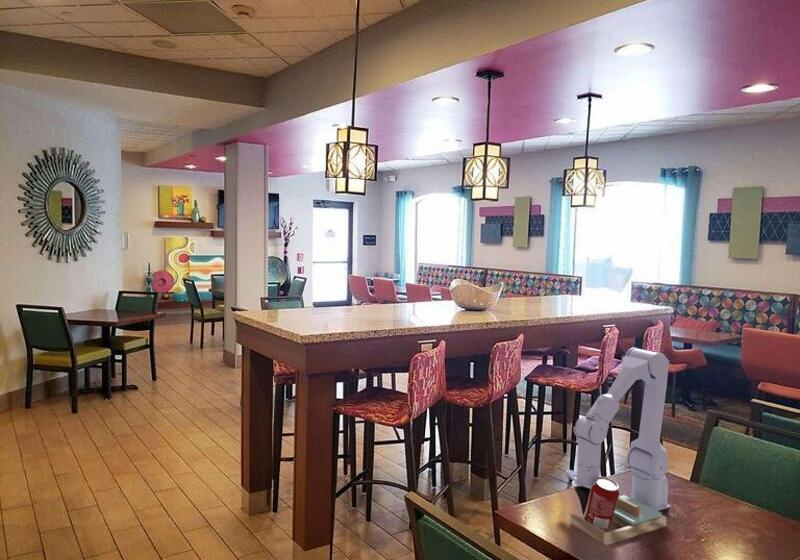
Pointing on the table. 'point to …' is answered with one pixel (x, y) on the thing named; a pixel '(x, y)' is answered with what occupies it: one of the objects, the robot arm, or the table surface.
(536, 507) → the table surface
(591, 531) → the wooden frame
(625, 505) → the lid
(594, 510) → the soda can
